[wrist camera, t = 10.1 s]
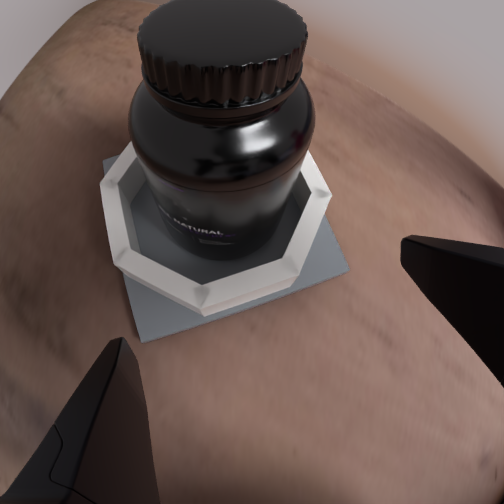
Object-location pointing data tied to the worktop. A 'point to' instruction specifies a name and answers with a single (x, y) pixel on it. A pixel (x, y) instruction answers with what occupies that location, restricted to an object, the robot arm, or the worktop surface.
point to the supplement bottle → (221, 120)
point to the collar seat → (204, 270)
